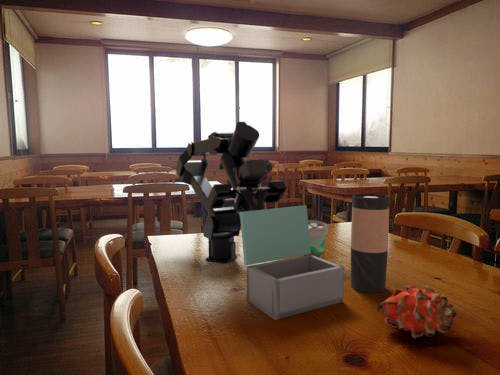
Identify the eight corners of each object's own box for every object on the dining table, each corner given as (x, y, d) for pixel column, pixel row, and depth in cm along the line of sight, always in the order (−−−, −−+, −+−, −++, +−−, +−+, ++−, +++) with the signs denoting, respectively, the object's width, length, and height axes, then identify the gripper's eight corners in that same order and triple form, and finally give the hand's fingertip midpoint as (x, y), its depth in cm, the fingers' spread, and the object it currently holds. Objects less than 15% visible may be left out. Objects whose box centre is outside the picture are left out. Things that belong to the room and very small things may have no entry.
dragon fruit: (461, 351, 61) (381, 348, 65) (452, 303, 67) (379, 303, 71) (462, 323, 56) (375, 321, 60) (452, 274, 62) (373, 276, 66)
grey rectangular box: (246, 300, 77) (246, 266, 76) (310, 285, 85) (311, 254, 84) (275, 320, 68) (275, 281, 67) (342, 301, 76) (343, 267, 75)
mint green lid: (246, 265, 76) (244, 264, 77) (311, 253, 84) (308, 253, 85) (242, 211, 76) (239, 212, 77) (306, 205, 84) (303, 205, 85)
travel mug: (367, 296, 79) (370, 199, 77) (342, 284, 86) (344, 194, 83) (394, 289, 82) (398, 196, 80) (368, 278, 89) (370, 192, 87)
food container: (327, 270, 95) (328, 230, 94) (302, 268, 97) (303, 229, 95) (328, 256, 107) (328, 220, 106) (305, 254, 109) (306, 219, 107)
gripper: (211, 147, 84) (236, 203, 75) (282, 147, 93) (311, 197, 85) (198, 181, 91) (219, 236, 83) (265, 177, 101) (290, 226, 92)
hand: (261, 223), depth 85 cm, fingers closed
